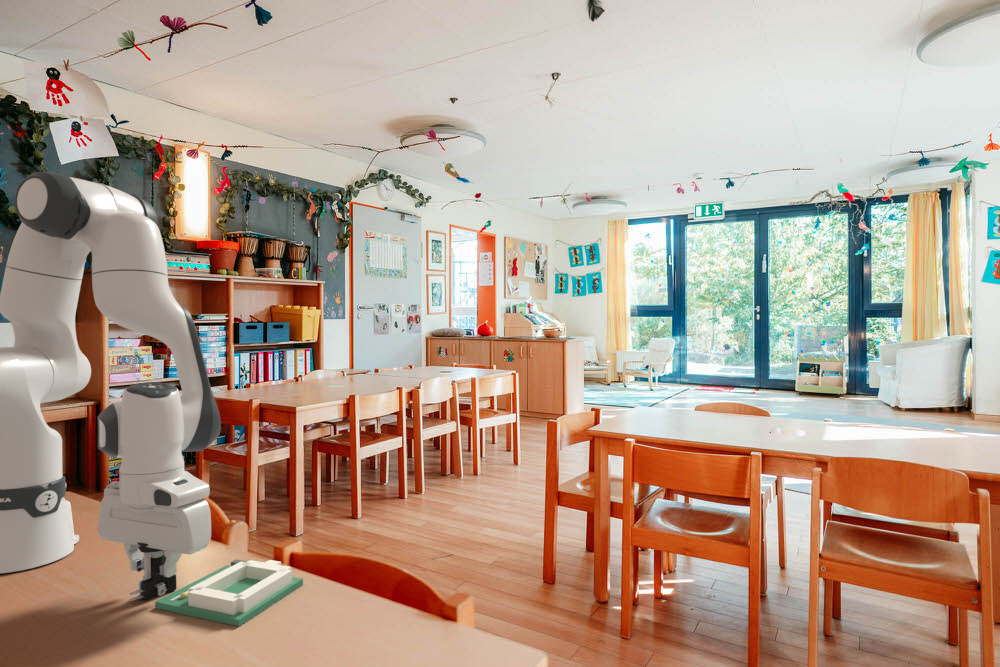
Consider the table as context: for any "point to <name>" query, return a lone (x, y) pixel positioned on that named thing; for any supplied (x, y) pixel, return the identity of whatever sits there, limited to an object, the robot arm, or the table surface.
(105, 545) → the table surface
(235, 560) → the lead
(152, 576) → the push button
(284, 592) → the board
